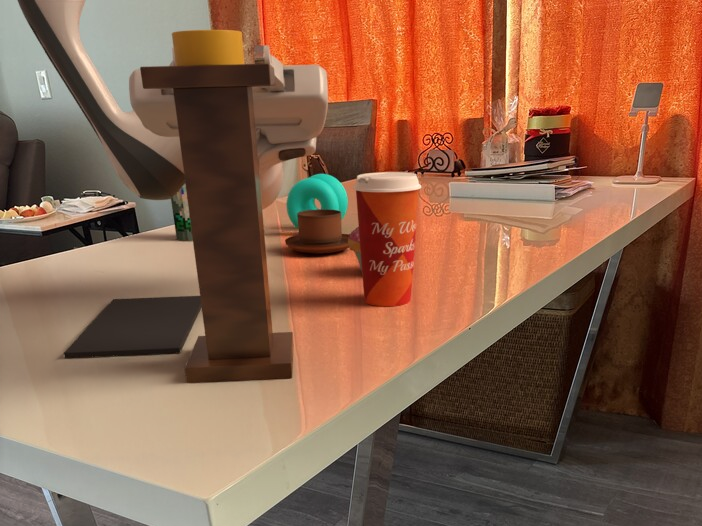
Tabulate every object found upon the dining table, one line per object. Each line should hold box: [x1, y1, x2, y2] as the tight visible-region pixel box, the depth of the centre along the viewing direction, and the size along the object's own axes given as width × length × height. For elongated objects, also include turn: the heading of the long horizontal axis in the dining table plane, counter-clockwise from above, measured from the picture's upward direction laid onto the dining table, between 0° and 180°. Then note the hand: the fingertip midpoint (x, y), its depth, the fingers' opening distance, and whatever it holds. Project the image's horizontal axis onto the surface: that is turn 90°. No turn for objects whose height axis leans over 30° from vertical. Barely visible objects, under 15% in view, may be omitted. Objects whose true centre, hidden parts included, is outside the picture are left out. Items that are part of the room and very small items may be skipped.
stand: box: [139, 63, 294, 384], centre depth 66 cm, size 10×10×26 cm
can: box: [170, 184, 193, 242], centre depth 132 cm, size 6×6×15 cm
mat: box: [63, 295, 202, 359], centre depth 85 cm, size 12×22×1 cm, turn 4°
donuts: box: [286, 173, 349, 230], centre depth 136 cm, size 10×10×10 cm
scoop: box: [171, 29, 245, 66], centre depth 64 cm, size 18×6×2 cm, turn 4°
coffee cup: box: [352, 171, 422, 307], centre depth 89 cm, size 8×8×15 cm
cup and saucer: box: [284, 208, 350, 255], centre depth 120 cm, size 12×12×6 cm
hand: (221, 53), depth 67 cm, fingers open, 6 cm apart
